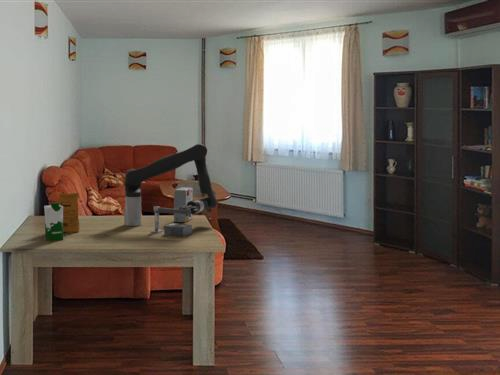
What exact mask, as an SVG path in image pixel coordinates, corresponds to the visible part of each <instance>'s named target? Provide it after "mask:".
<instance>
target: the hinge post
mask: <svg viewBox="0 0 500 375" xmlns="http://www.w3.org/2000/svg"><path fill="white" fill-rule="evenodd" d="M150 233H155V234H159V233H164V229H160V212H158V211H154V229H153V230H150Z"/></svg>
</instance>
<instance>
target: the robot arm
mask: <svg viewBox="0 0 500 375" xmlns="http://www.w3.org/2000/svg"><path fill="white" fill-rule="evenodd" d="M207 154H208V149H207V146H206V145H204V144H202V143H197V144H195V145H193V146H191V147H189V148H186V149H185V150H183V151H182V150H181V151H179V152H176V153H172V154H168V155H166V156H163V157H161V158H158V159H156V160H154V161H153V162H151V163H149V164H148V165H146V166H144V167H140V168H138V169H137V168H136V169H135V168H130V169H128V170H127V171H126V172H125V175H124V191H125V192H124V194H125V208H123V218H124V220H123V222H124V223H123V224H124V226H127V227H130V226H131V227H136V226H138V227H139V226H141V225H142V188H141V186H142V185H141V184H142V183H143V182H145V181H148V180H149V179H151V178H154V177H158V176H161V175H164V174H166V173H170V172H172V171H174V170H176V169H179V168H181V167H182V166H183V165H185V164H188V163H190V162H194V165H195V168H196V174H197V179H198V186H199V191H200V193H201V194H203V195H206V196H207V197H202V198H200V199H194V200H192V201H189V202H188V203H187V204H186V205H185V206H183V207H182V206H180V205H179V206H178V209H181V210H186V209H188V208H191V214H192V215H195V214H197V213H200V212H203V211H205V210H209V209H215V208H216V207H217V205H218V199H217V197H216V195H215V194H214V190H213V188H212V184H211V178H210V175H209V171H208V169H207V168H208V167H207V164H206V156H207Z"/></svg>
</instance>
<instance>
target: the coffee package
mask: <svg viewBox="0 0 500 375" xmlns="http://www.w3.org/2000/svg"><path fill="white" fill-rule="evenodd" d="M58 202H59V205H60V206H63V234H64V233H67V234H73V233H74V234H75V233H78V232H79V231H80V220H79V192H71V193H64V192H62V193H61V192H59V193H58Z"/></svg>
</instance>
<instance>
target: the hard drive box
mask: <svg viewBox="0 0 500 375" xmlns="http://www.w3.org/2000/svg"><path fill="white" fill-rule="evenodd" d="M173 191H174V193H173V196H174V197H173V198H174V199H173V200H174V201H173V209H178V206H179V205H180V206H182V207H183V206H185V205H186V204H187V203H188V202H189V201H193V199H194V198H193V193H194V192H193V191H194V190H193V187H186V186H185V187H184V186H183V187H178V188H176V189H174V190H173ZM192 219H193V214H191V216H186V214H179V213H173V223H176V222H177V223H186V222H188V221H191V220H192Z"/></svg>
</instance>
